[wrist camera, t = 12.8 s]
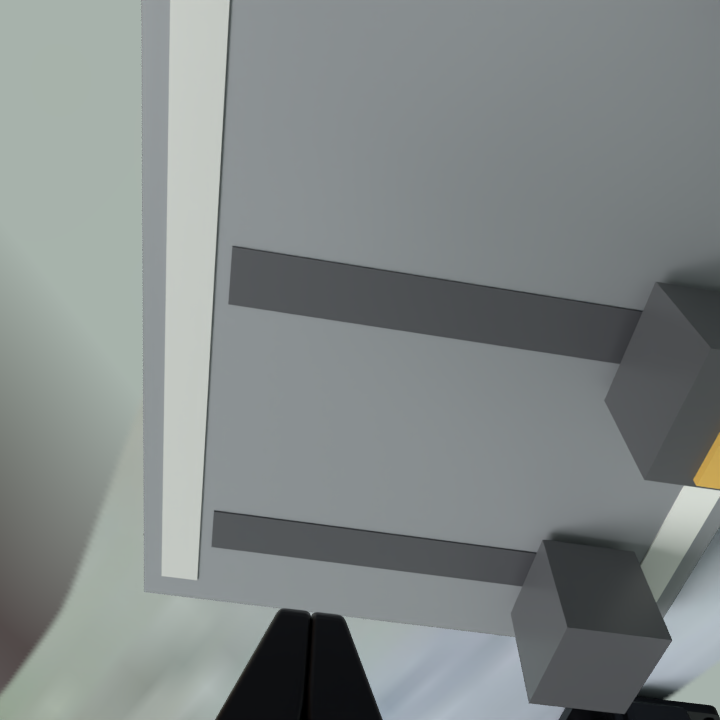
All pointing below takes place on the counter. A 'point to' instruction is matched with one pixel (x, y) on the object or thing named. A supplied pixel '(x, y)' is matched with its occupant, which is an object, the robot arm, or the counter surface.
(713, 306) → the handle
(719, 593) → the counter surface
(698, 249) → the panel
